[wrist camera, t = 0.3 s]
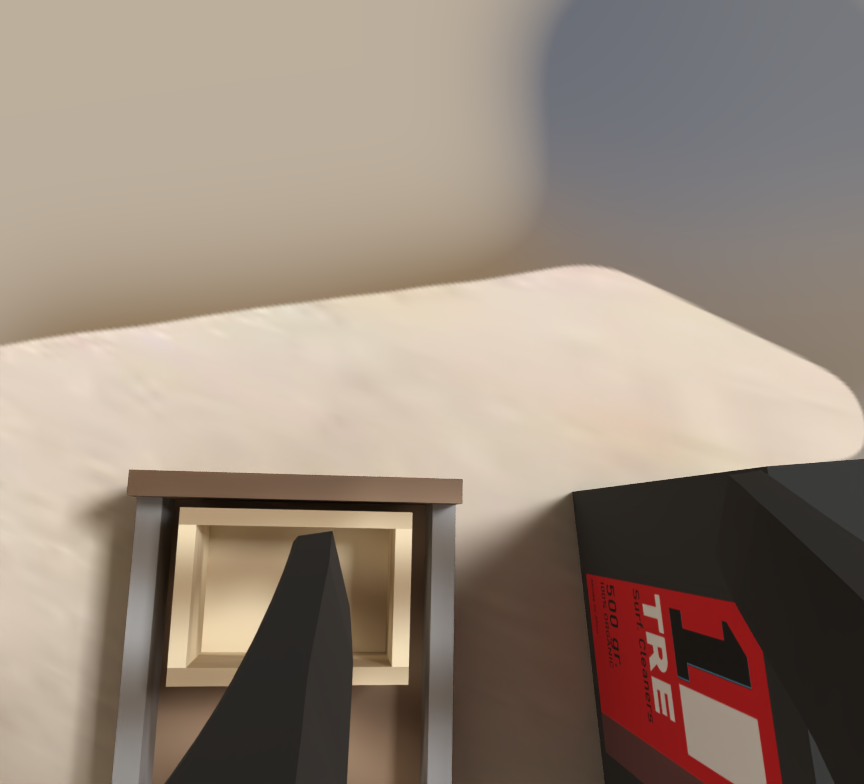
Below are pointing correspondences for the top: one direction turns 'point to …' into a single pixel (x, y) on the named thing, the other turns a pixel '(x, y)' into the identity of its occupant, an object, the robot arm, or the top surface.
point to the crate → (259, 576)
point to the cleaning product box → (691, 634)
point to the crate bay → (370, 704)
